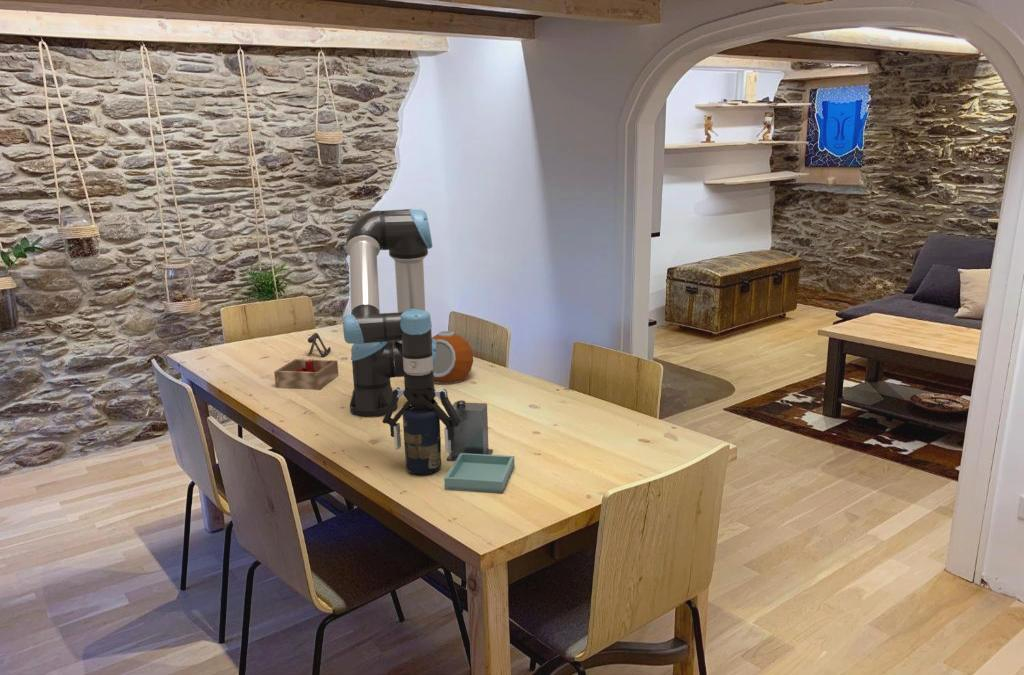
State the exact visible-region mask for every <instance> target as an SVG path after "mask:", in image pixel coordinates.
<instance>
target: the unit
mask: <svg viewBox="0 0 1024 675" xmlns="http://www.w3.org/2000/svg"><path fill="white" fill-rule="evenodd" d="M452 406H453V408H454V410H455V412H456V413H457V415H458V417H459V419H460V421H461V422H460V424H459V425H458V426H457V427H454V438H453V439H452V440H451V450H450V452H449V453H448V454H449V455H448V456H447V457H446V461H448V462H455V461H456V459H457V457H458V456H459V454H460V453H469V454H486V455H493V451H494V448H493V449H492V448H489V426H488V425H489V424H488V423H489V421H488V403H485V402H484V403H483V402H482V403H481V402H466V401H465V400H457V401H454V402H453V404H452ZM448 417H449V416H448ZM449 418H450V417H449Z"/></svg>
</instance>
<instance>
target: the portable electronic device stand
mask: <svg viewBox="0 0 1024 675" xmlns="http://www.w3.org/2000/svg"><path fill="white" fill-rule="evenodd" d="M317 339H318V341H319V342H320V345H321V346H322V348H323V350H324V352H322V350H321V348H320V347H319V345H318V343H317ZM307 342H308V343H309V344H311V347H310V349H309V352H308V355H307V356H308V357H309V356H310V355H311V354H312V353H313V350H314V348H315V347H316V350H317V351H318V353H319V355H320V357H322V358H326V356H327V355H329V353H330V352H331V351H332V348H331V346H329V347H328V348H326V346H325V344H324V341H323V340H322V338H321V337H320V335H319V333H318V332H314V333H313V334H312V335H311V336H309V337H308V339H307Z"/></svg>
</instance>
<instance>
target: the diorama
mask: <svg viewBox="0 0 1024 675" xmlns="http://www.w3.org/2000/svg"><path fill="white" fill-rule="evenodd" d="M308 360H309V361H306V362H305V366H306V368H304V367H298V368H297V371H299V372H317V371H319V370H321V367H320V366H319V367H320V369H319V368H318V366H317V368H318V369H317V371H316V370H314V363H313V360H314V359H312V358H311V359H310V358H308ZM310 360H312V361H310Z"/></svg>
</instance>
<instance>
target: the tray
mask: <svg viewBox="0 0 1024 675" xmlns="http://www.w3.org/2000/svg"><path fill="white" fill-rule="evenodd" d="M514 469H515V456H514V455H501V454H491V455H486V454H469V453H460V454H459V456H458V457H457V459H456V461H453V463H452V466H451V467H450V469H449V470H448V472H447V473H446V474H445V476H444V481H443V482H444V483H443V484H444V490H449V491H460V492H461V491H464V492H465V491H466V492H477V493H478V492H479V493H493V494H504V491H505V489H506V488H507V485H508V482H509V480H510V478H511V475H512V473H513V471H514Z"/></svg>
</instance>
